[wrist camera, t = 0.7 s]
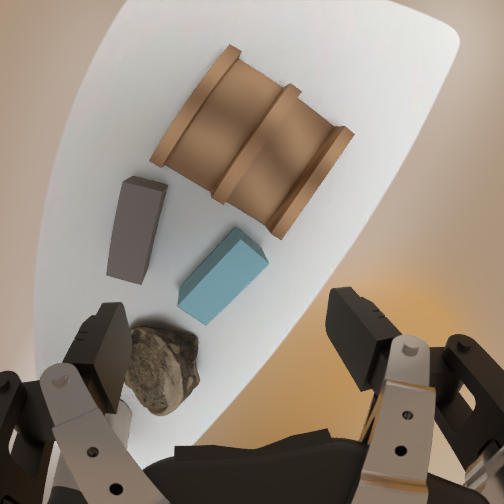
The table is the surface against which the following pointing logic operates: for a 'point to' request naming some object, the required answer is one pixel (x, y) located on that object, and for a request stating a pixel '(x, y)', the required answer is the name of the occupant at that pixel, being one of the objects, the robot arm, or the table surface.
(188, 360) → the brown rock
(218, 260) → the tall teal pillar
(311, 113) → the block
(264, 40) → the table surface
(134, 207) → the dark gray block
